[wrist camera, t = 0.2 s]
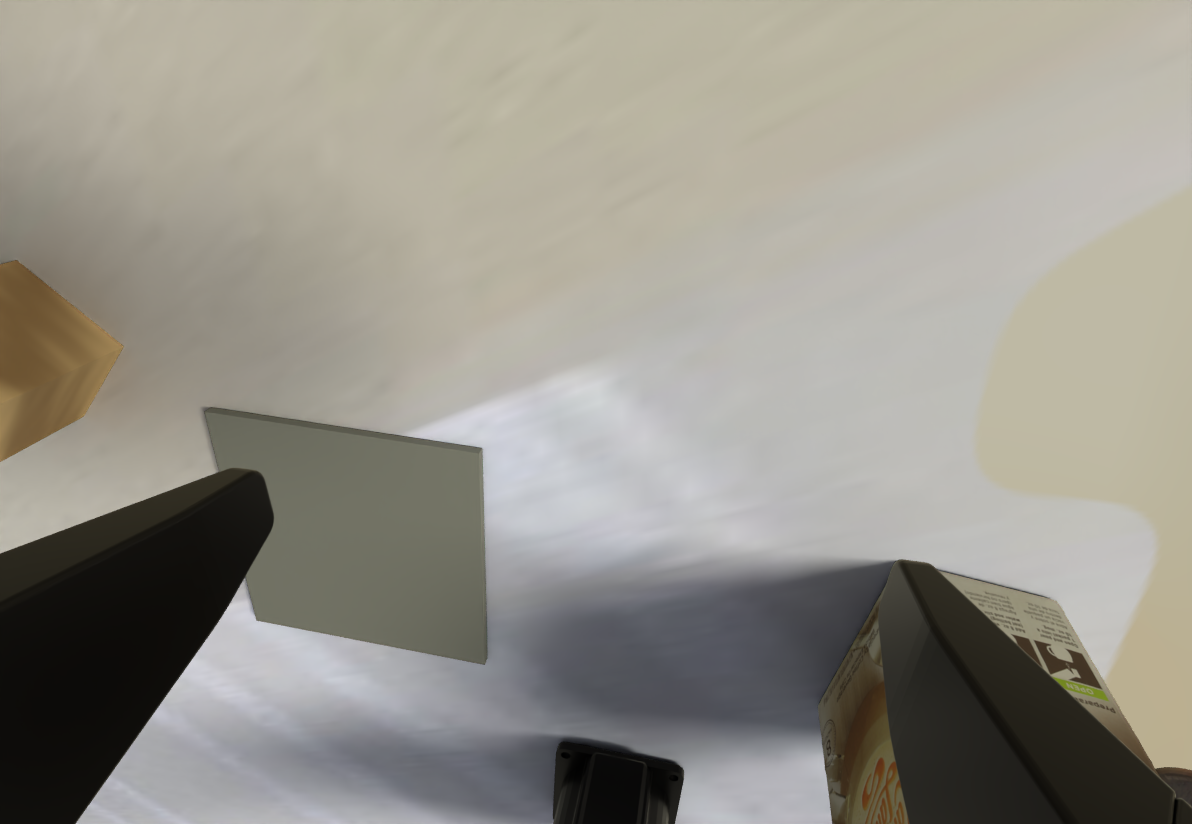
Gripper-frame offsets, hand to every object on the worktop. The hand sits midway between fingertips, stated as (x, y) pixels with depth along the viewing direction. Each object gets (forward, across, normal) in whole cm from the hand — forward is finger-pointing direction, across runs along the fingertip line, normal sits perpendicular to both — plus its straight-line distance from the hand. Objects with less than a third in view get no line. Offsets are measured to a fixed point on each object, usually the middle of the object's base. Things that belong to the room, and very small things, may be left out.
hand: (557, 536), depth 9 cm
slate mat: (+14, +13, +14) cm, 24 cm away
